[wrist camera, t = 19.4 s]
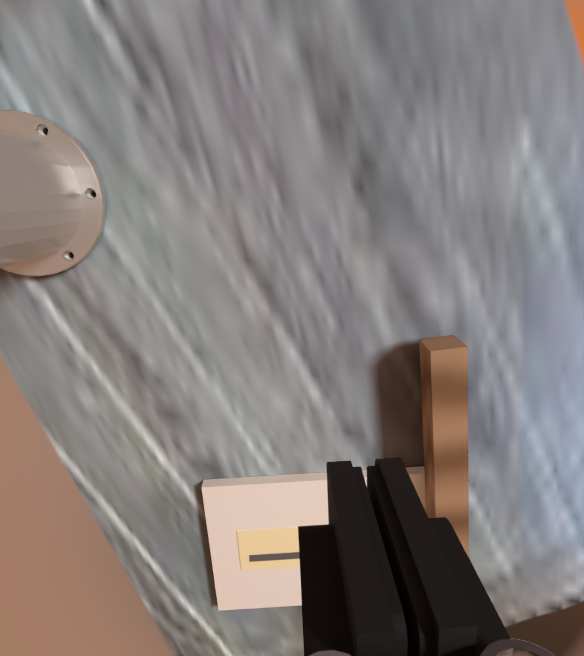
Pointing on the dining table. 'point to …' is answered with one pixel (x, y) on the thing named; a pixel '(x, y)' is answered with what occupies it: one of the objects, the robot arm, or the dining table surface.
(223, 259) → the dining table surface
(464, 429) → the bar
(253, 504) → the label plate
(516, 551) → the dining table surface
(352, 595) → the robot arm
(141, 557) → the dining table surface
